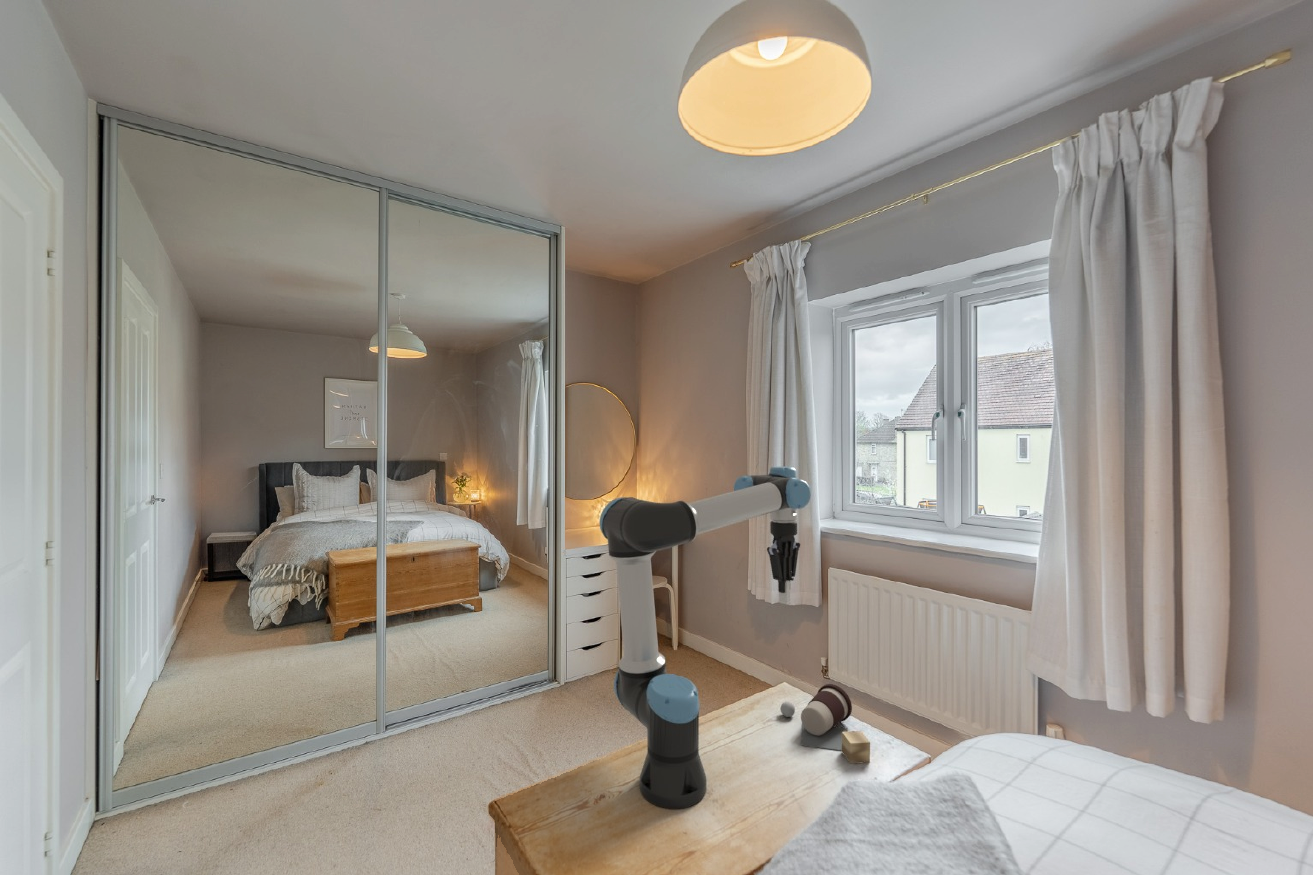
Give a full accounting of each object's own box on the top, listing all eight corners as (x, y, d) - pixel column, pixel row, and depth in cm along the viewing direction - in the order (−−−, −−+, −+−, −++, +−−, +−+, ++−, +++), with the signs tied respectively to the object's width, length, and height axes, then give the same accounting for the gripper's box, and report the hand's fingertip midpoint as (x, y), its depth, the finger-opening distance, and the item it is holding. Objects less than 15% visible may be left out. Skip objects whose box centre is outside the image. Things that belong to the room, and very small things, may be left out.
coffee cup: (800, 695, 152) (826, 674, 163) (791, 725, 154) (817, 703, 165) (834, 718, 146) (858, 694, 157) (824, 749, 148) (849, 724, 159)
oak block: (850, 763, 138) (850, 743, 138) (841, 750, 143) (841, 731, 143) (869, 762, 139) (870, 742, 139) (860, 749, 144) (861, 730, 144)
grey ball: (780, 718, 160) (780, 704, 160) (780, 712, 164) (780, 698, 164) (794, 720, 159) (794, 706, 159) (795, 713, 163) (795, 699, 163)
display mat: (801, 745, 146) (801, 744, 146) (802, 723, 158) (802, 722, 158) (850, 752, 143) (850, 751, 143) (847, 728, 155) (847, 727, 155)
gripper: (780, 524, 155) (781, 610, 155) (808, 519, 164) (808, 601, 164) (758, 521, 161) (759, 605, 161) (786, 517, 169) (787, 596, 169)
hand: (784, 603), depth 162 cm, fingers closed
